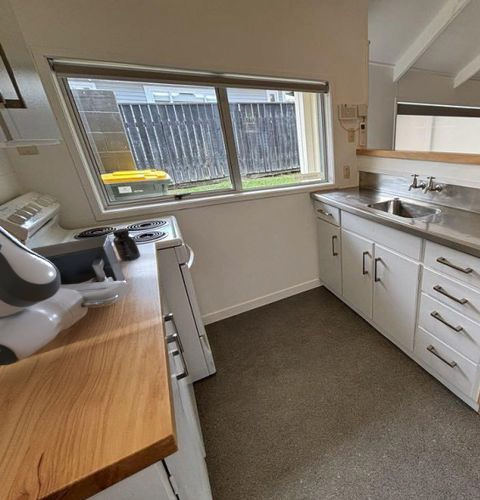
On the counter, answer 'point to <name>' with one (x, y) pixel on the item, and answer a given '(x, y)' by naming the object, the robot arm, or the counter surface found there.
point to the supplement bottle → (125, 245)
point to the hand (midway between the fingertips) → (103, 279)
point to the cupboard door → (83, 266)
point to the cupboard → (83, 246)
